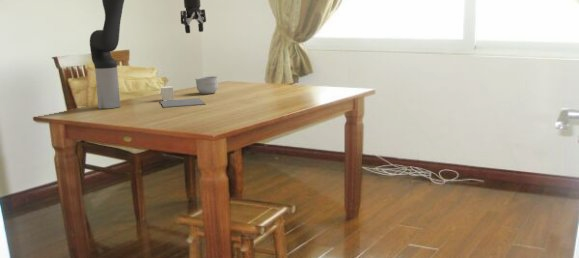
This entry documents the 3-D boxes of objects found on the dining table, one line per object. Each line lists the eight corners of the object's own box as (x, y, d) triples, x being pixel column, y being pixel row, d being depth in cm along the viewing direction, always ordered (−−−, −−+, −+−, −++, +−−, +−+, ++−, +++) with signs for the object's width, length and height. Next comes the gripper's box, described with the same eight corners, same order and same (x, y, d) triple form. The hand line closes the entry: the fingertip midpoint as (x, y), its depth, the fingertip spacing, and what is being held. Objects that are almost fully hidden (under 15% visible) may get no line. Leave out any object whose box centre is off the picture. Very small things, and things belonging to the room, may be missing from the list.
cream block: (162, 101, 276) (161, 88, 275) (161, 99, 281) (160, 86, 279) (173, 100, 277) (172, 87, 276) (172, 98, 282) (171, 86, 281)
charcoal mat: (163, 107, 256) (163, 106, 256) (159, 101, 273) (159, 101, 273) (205, 104, 261) (205, 103, 261) (199, 99, 278) (199, 98, 278)
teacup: (207, 95, 290) (206, 78, 288) (191, 94, 296) (190, 77, 294) (227, 91, 300) (226, 75, 299) (211, 90, 307) (210, 74, 305)
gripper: (196, -3, 289) (199, 31, 292) (174, -2, 278) (178, 33, 281) (208, -4, 284) (210, 31, 288) (186, -3, 273) (189, 33, 277)
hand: (194, 32), depth 284 cm, fingers open, 8 cm apart
